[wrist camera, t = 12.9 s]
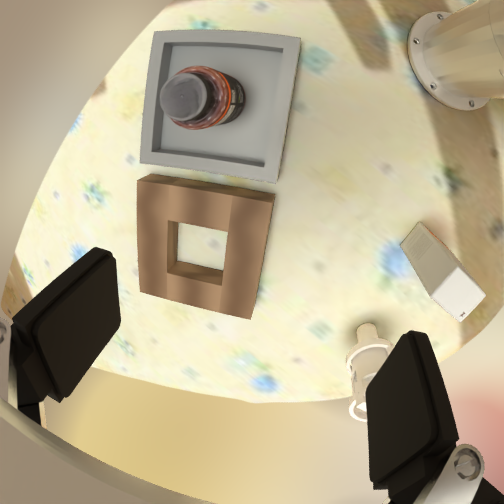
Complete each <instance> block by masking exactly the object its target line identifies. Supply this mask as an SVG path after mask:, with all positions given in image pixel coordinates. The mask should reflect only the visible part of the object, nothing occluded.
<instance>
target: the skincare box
mask: <svg viewBox="0 0 504 504" xmlns="http://www.w3.org/2000/svg"><path fill="white" fill-rule="evenodd" d="M400 247H401V248H402V250H403V251H404V253H405V255H406V256H407V258H408V260H409V261H410V263H411V265H412V266H413V268H414V270H415V271H416V273H417V275H418V277H419V278H420V280H421V282H422V284H423V285H424V287H425V289H426V291H427V292H428V294H429V296H430V298H431V299H433V300H434V301H435V302H436V303H438V304H439V305H440V306H441V307H442V308H443V309H444V310H445V311H446V312H447V313H449V314H450V315H451V316H453V317H454V318H455V319H456V320H457V321H459V322H462V321H463V320H464V319H465V318H466V317H467V316H468V314H469V313H470V312H471V311H472V310H473V309H474V308H475V307H476V306H477V305H478V304H479V303H480V302H481V301H482V299H483V298H484V297H485V296H486V294H485V293H484V291H483V290H482V289H481V287H480V286H479V285H478V284H477V282H476V281H475V280H474V278H473V277H472V276H471V275H470V273H469V272H468V271H467V270H466V269H465V267H464V266H463V265H462V264H461V262H460V261H459V260H458V259H457V258H456V257H455V255H454V254H453V253H452V252H451V251H450V250H449V248H448V247H447V246H446V245H445V244H443V243H442V242H441V241H440V240H439V239H438V238H437V237H436V236H435V235H434V234H433V233H432V232H430V231H429V230H428V229H427V228H426V227H425V226H424V225H423V224H422V223H421V222H419V223H418V224H417V225H416V226H415V228H414V229H413V230H412V231H411V233H410V234H409V235H408V236H407V237H406V239H405V240H404V241H403V242H402V243H401V245H400Z"/></svg>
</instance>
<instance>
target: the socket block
mask: <svg viewBox="0 0 504 504" xmlns="http://www.w3.org/2000/svg"><path fill="white" fill-rule="evenodd" d="M274 199H275V194H271V193H265V192H260V191H255V190H249V189H244V188H238V187H233V186H227V185H221V184H215V183H209V182H203V181H196V180H190V179H183V178H176V177H170V176H162V175H155V174H149V175H147V176H145V177H143V178H141V179H139V180H137V247H138V269H139V285H140V292H143V293H146V294H150V295H153V296H157V297H160V298H164V299H168V300H172V301H175V302H179V303H183V304H187V305H191V306H195V307H199V308H203V309H207V310H211V311H215V312H219V313H223V314H228V315H232V316H236V317H241V318H245V319H250V320H251V317H252V313H253V310H254V306H255V301H256V296H257V291H258V286H259V280H260V275H261V270H262V264H263V259H264V254H265V248H266V243H267V237H268V232H269V226H270V221H271V216H272V210H273V204H274ZM178 222H181V223H186V224H191V225H196V226H201V227H206V228H211V229H216V230H221V231H226V232H228V236H227V245H226V253H225V262H224V271H221V270H217V269H212V268H208V267H203V266H199V265H194V264H190V263H185V262H181V261H177V243H178Z"/></svg>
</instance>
